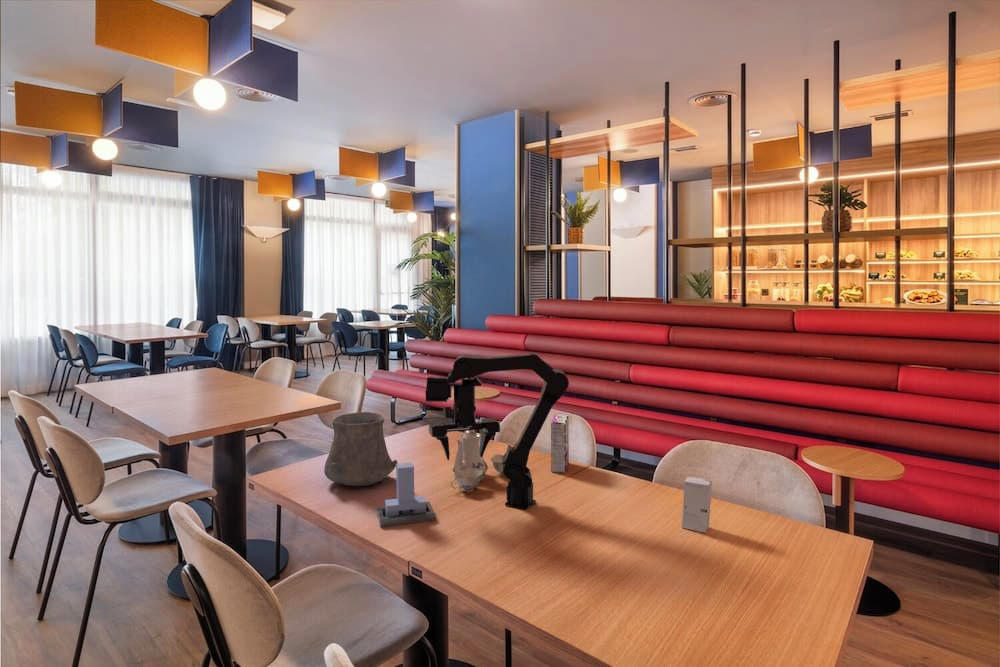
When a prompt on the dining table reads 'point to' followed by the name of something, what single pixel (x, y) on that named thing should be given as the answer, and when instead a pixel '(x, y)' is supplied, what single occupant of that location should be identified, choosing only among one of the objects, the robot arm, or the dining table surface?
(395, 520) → the rail
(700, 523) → the skincare box
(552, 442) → the candy bar box
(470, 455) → the chinaware
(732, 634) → the dining table surface
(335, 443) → the vessel
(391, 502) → the blue-gray inverted t block
